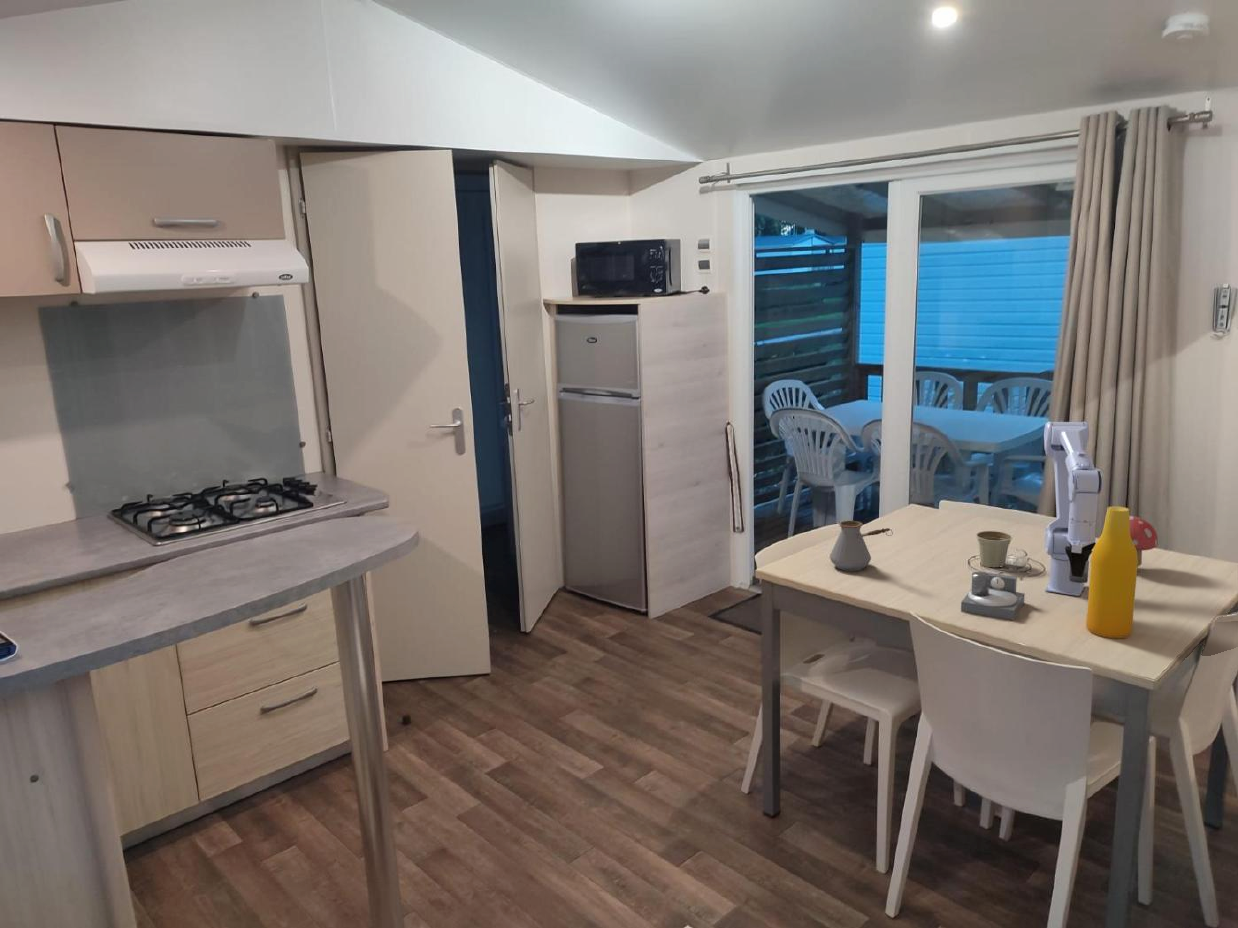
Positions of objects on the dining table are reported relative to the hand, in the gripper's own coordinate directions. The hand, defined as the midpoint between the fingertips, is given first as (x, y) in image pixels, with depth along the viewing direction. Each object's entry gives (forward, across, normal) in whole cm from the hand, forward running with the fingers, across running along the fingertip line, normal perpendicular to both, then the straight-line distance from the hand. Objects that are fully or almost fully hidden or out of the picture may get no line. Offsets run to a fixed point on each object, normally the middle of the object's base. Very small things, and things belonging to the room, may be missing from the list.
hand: (1078, 573), depth 211 cm
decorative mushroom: (+10, -38, +8) cm, 39 cm away
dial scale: (+9, +8, -18) cm, 21 cm away
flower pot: (+10, -26, -24) cm, 37 cm away
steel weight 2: (+2, 0, 0) cm, 2 cm away
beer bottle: (+10, +11, +8) cm, 16 cm away
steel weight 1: (+6, +8, -20) cm, 23 cm away
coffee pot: (+10, -4, -54) cm, 55 cm away
